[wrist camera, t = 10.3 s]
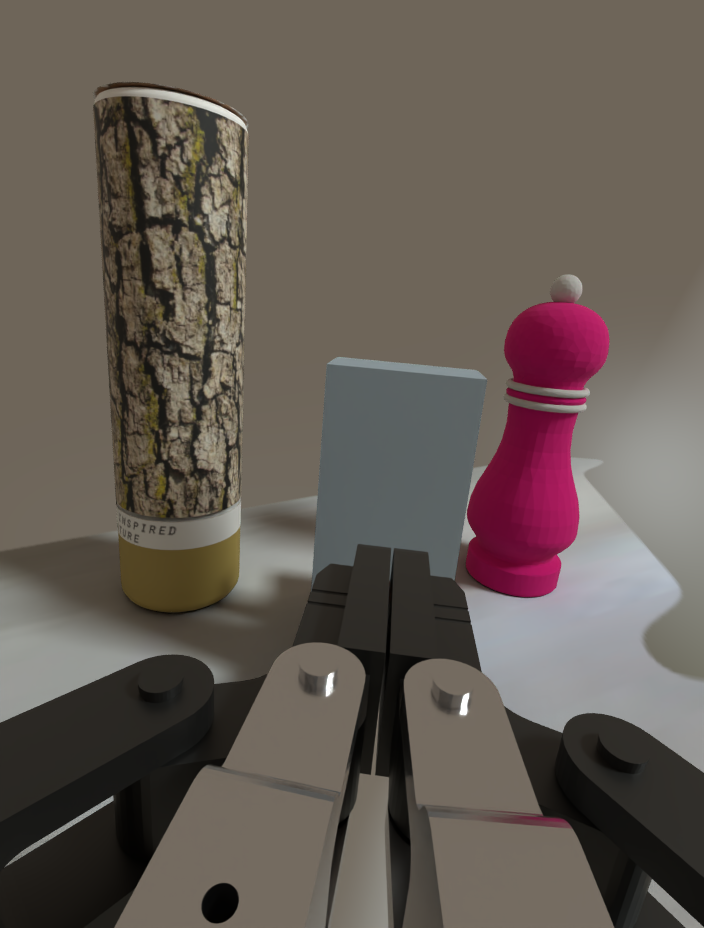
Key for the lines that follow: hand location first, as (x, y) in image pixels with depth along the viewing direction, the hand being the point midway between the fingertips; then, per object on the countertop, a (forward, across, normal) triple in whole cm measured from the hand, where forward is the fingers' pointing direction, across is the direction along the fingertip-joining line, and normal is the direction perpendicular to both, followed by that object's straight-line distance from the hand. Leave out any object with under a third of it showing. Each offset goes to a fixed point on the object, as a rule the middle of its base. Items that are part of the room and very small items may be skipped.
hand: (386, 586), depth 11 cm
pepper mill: (+24, -9, +12) cm, 28 cm away
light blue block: (+11, 0, +12) cm, 16 cm away
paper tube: (+17, +12, +12) cm, 24 cm away
